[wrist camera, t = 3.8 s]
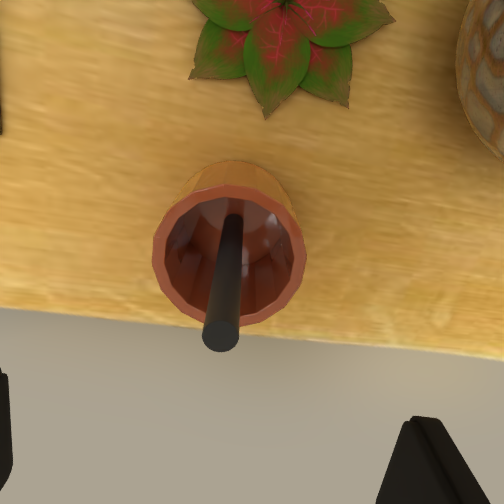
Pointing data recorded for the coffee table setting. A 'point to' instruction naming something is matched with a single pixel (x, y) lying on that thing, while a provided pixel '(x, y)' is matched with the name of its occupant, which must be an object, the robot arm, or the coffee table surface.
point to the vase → (483, 71)
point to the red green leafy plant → (285, 44)
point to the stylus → (225, 289)
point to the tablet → (0, 124)
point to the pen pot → (209, 234)
